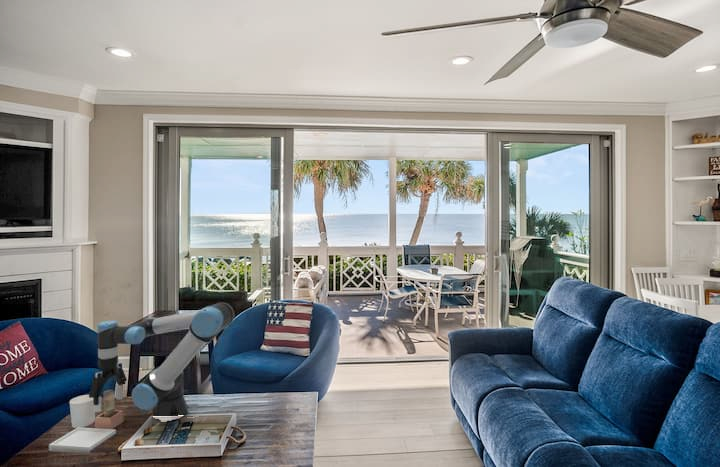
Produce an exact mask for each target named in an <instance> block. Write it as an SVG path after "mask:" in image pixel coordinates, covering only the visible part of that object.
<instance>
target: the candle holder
mask: <svg viewBox="0 0 720 467" xmlns="http://www.w3.org/2000/svg"><path fill="white" fill-rule="evenodd" d="M69 409H70V410H69V411H70V421H71V427H72V428H74V429H76V428H78V427H80V428H86V427H88V426H91V425H92V424H95V417H96V412H94V404H93V398H89V394H83V395H79V396H76V397H73V398H71V399H70V400H69Z"/></svg>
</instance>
